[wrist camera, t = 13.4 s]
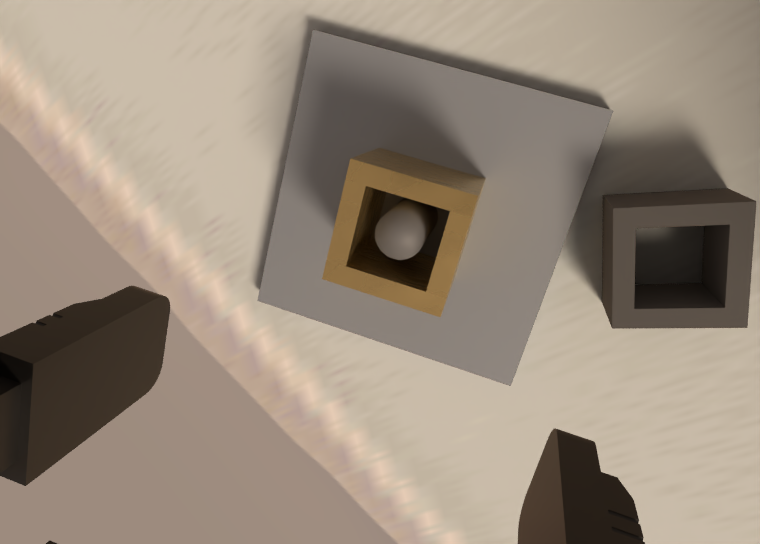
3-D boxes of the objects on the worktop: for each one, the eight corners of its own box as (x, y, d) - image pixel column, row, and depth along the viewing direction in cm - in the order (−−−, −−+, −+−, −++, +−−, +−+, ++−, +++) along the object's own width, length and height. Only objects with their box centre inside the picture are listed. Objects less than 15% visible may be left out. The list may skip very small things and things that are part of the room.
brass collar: (485, 178, 32) (478, 196, 27) (453, 281, 34) (440, 317, 29) (379, 147, 33) (350, 158, 28) (353, 249, 35) (322, 279, 30)
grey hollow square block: (727, 188, 31) (756, 201, 27) (721, 300, 32) (747, 327, 29) (602, 195, 32) (613, 208, 29) (602, 302, 34) (612, 328, 30)
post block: (610, 110, 31) (630, 113, 25) (510, 378, 36) (508, 430, 31) (318, 31, 33) (277, 18, 28) (263, 295, 38) (219, 330, 33)
